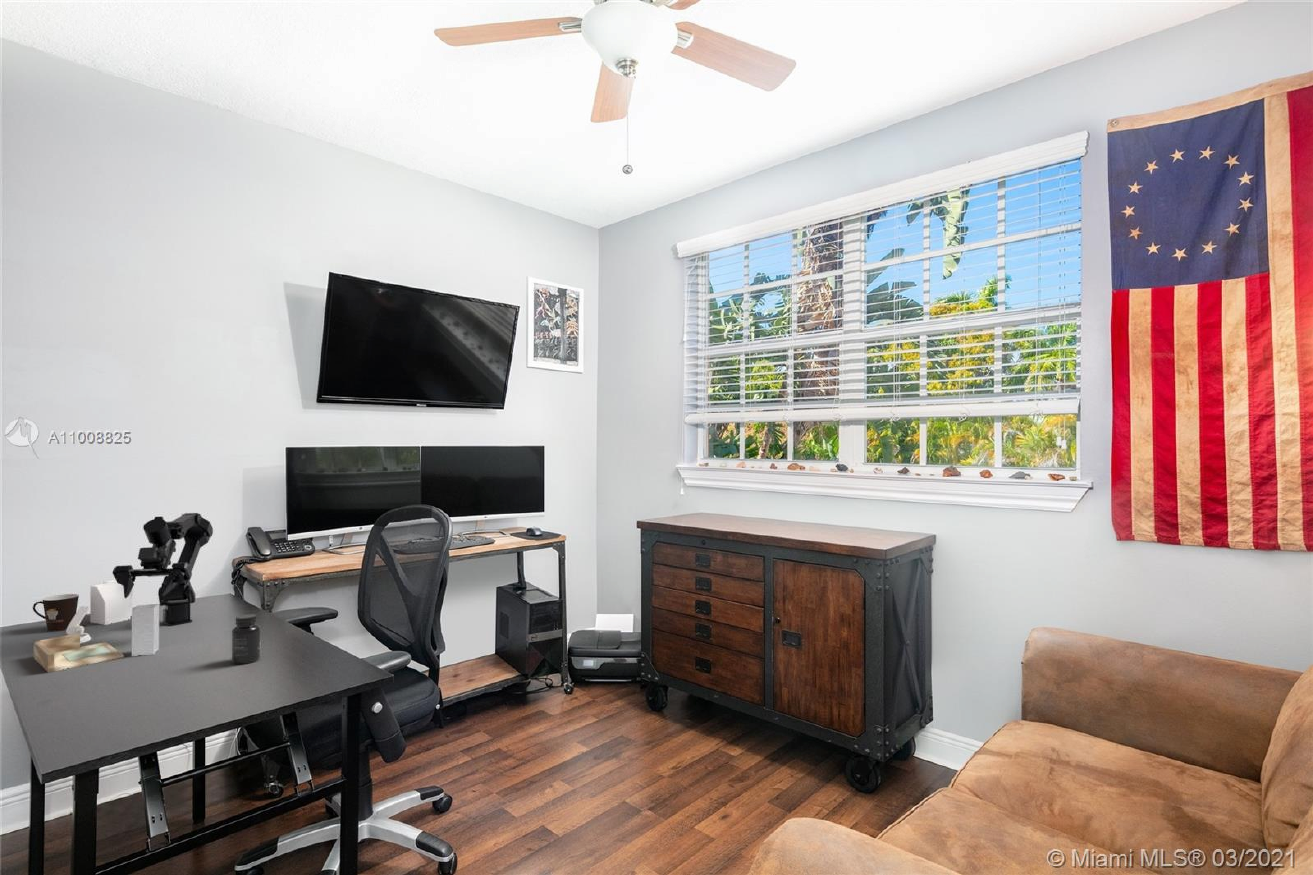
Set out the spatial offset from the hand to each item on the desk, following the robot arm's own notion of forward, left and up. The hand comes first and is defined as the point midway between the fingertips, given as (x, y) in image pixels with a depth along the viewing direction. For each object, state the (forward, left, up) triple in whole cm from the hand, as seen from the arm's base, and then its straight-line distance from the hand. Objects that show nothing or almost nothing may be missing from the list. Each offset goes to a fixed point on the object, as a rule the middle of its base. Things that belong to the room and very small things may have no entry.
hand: (144, 596), depth 195 cm
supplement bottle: (-13, +38, -15) cm, 43 cm away
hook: (+12, -21, -15) cm, 28 cm away
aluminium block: (+2, +8, -14) cm, 17 cm away
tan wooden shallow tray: (+15, -1, -14) cm, 20 cm away
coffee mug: (+12, -43, -15) cm, 47 cm away
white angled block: (-2, -43, -15) cm, 46 cm away
